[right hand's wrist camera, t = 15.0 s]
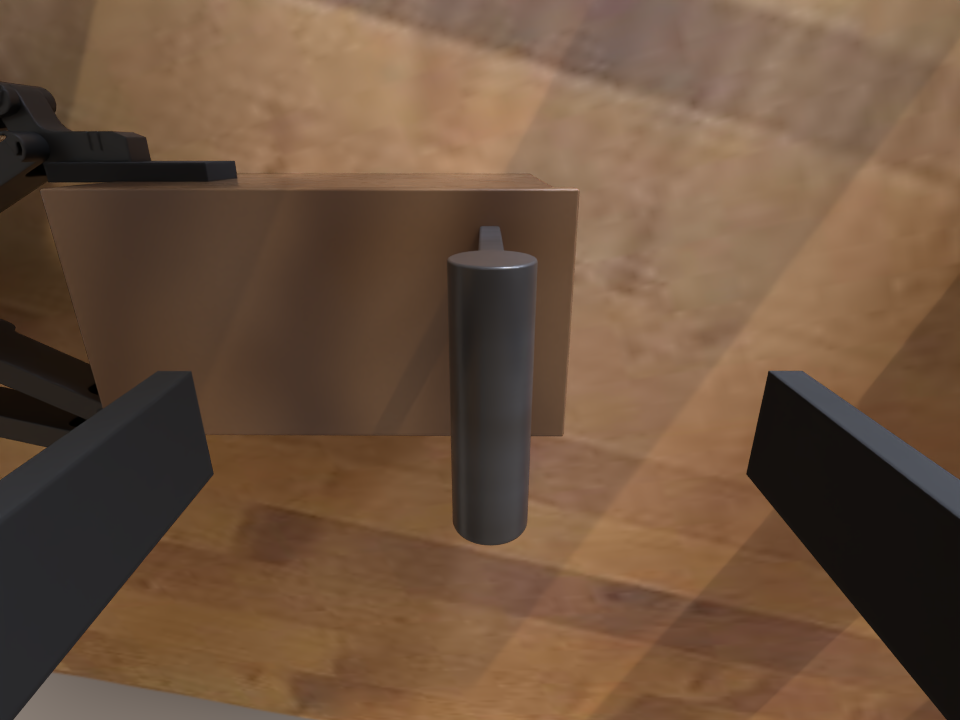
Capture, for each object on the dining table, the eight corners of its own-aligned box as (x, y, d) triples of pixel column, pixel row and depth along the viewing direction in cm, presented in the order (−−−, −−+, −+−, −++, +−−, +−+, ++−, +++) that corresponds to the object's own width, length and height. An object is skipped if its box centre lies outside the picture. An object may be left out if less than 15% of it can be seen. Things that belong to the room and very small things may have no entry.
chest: (531, 173, 28) (554, 187, 19) (525, 341, 32) (542, 425, 22) (203, 173, 28) (58, 186, 19) (232, 340, 32) (123, 424, 22)
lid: (575, 187, 19) (641, 215, 11) (560, 426, 22) (602, 578, 14) (56, 187, 19) (-249, 214, 11) (122, 424, 22) (-74, 574, 14)
